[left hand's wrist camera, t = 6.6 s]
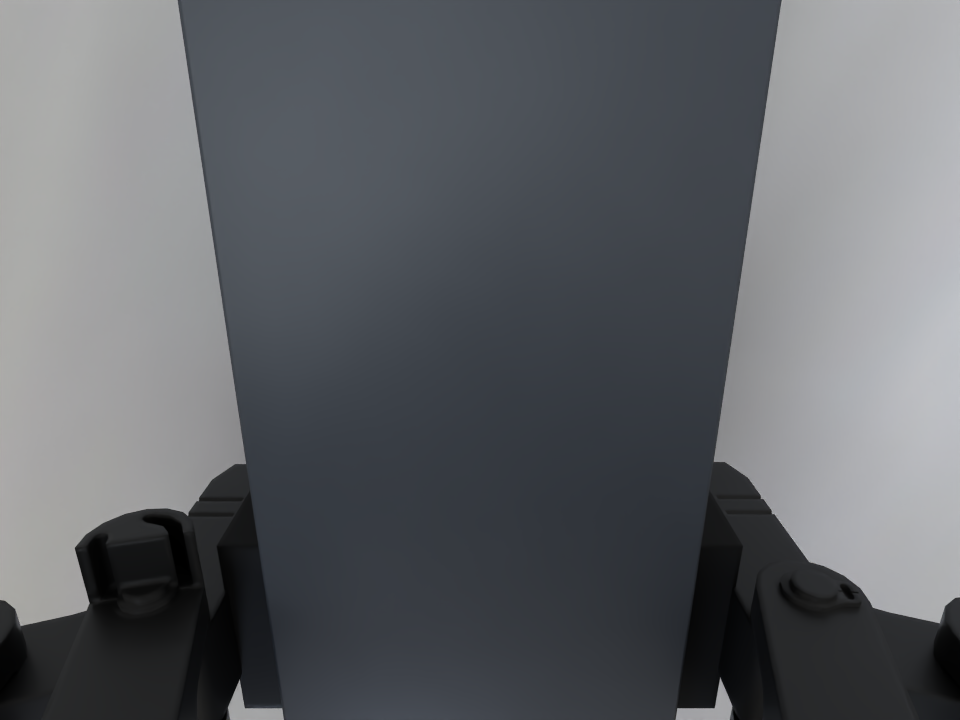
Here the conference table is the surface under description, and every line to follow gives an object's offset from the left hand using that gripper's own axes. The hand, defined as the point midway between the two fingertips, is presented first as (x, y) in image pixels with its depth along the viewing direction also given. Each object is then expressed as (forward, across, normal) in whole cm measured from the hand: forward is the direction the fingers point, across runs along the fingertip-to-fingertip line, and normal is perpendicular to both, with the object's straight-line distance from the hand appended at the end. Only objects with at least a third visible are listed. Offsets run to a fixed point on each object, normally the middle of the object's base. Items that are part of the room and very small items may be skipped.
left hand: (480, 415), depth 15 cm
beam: (+1, 0, -28) cm, 28 cm away
